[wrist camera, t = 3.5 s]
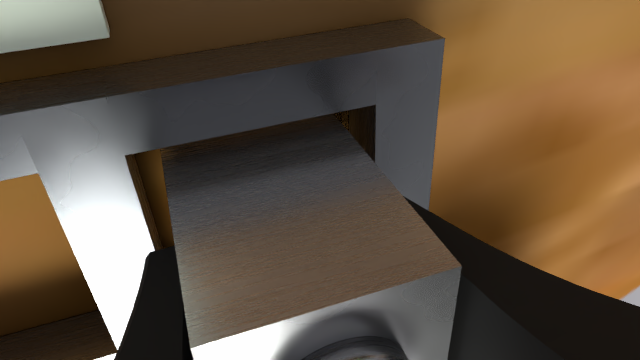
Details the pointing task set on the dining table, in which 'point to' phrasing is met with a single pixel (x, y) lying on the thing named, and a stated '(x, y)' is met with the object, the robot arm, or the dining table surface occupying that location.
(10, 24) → the tray
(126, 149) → the metal frame
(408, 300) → the grey knob block
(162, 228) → the dining table surface
